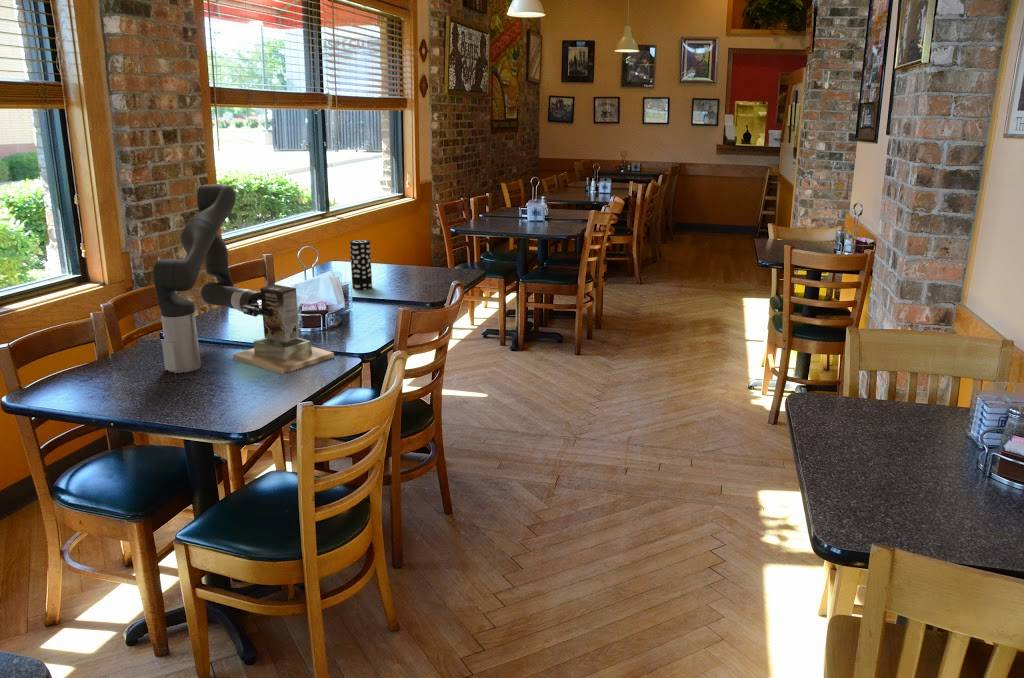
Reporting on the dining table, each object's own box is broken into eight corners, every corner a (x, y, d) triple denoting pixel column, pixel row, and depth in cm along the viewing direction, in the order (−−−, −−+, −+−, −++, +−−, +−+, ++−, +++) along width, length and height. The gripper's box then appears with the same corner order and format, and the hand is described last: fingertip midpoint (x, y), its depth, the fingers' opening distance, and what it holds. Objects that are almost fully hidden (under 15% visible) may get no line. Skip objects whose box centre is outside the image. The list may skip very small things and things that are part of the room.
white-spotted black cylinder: (350, 286, 339) (347, 240, 333) (369, 284, 343) (366, 239, 337) (355, 290, 332) (352, 243, 326) (374, 289, 335) (372, 242, 329)
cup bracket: (282, 374, 234) (280, 356, 232) (233, 358, 247) (231, 342, 245) (334, 357, 249) (332, 340, 247) (284, 343, 262) (283, 327, 261)
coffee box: (263, 338, 246) (258, 288, 241) (278, 332, 251) (274, 283, 246) (285, 343, 242) (281, 291, 237) (300, 337, 247) (296, 287, 242)
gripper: (228, 294, 245) (261, 303, 236) (266, 285, 256) (299, 294, 247) (230, 317, 248) (263, 327, 239) (268, 308, 259) (301, 317, 250)
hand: (282, 310), depth 243 cm, fingers closed on coffee box, 7 cm apart
